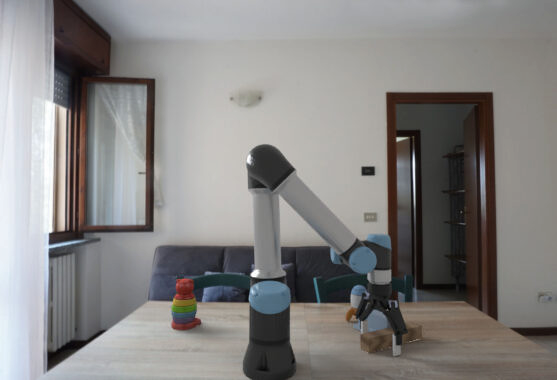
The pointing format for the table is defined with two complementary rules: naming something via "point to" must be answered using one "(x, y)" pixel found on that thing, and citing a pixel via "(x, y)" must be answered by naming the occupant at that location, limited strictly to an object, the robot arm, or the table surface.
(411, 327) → the walnut bar
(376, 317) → the slate ridge
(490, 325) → the table surface
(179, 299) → the stacking bear
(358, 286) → the toy rocket
